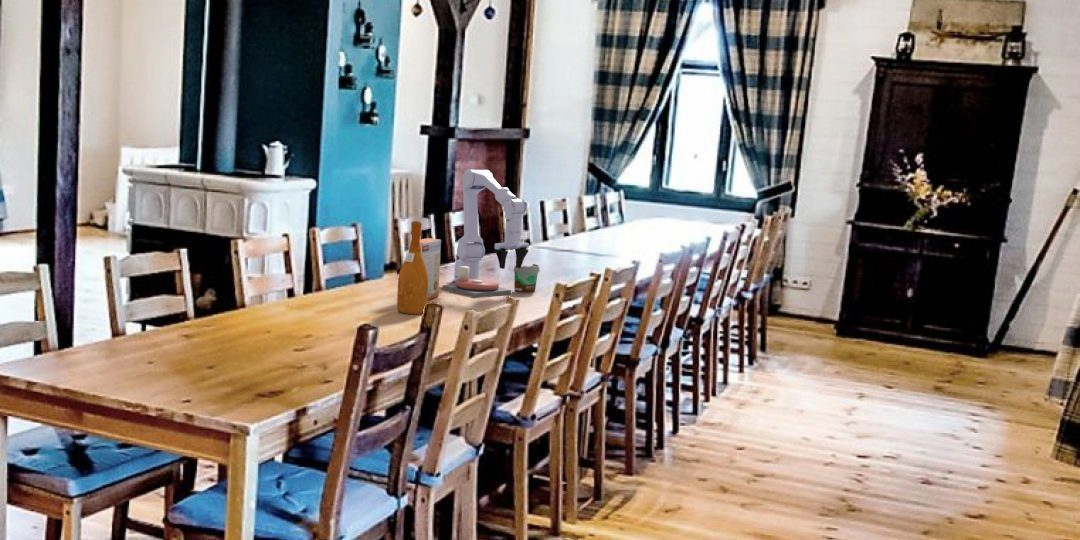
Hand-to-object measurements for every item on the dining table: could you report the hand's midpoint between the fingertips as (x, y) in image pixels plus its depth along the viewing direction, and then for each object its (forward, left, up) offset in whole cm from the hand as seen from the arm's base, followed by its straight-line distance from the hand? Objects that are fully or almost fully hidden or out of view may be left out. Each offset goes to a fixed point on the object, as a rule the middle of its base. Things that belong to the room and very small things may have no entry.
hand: (510, 268), depth 404 cm
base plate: (-9, -8, -10) cm, 15 cm away
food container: (-1, +11, -10) cm, 15 cm away
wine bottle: (+12, -55, -10) cm, 57 cm away
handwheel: (-9, -8, -8) cm, 14 cm away
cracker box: (-5, -37, -10) cm, 39 cm away
